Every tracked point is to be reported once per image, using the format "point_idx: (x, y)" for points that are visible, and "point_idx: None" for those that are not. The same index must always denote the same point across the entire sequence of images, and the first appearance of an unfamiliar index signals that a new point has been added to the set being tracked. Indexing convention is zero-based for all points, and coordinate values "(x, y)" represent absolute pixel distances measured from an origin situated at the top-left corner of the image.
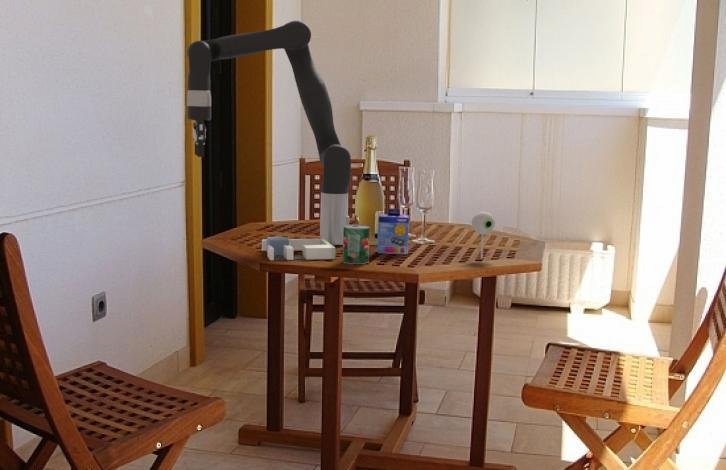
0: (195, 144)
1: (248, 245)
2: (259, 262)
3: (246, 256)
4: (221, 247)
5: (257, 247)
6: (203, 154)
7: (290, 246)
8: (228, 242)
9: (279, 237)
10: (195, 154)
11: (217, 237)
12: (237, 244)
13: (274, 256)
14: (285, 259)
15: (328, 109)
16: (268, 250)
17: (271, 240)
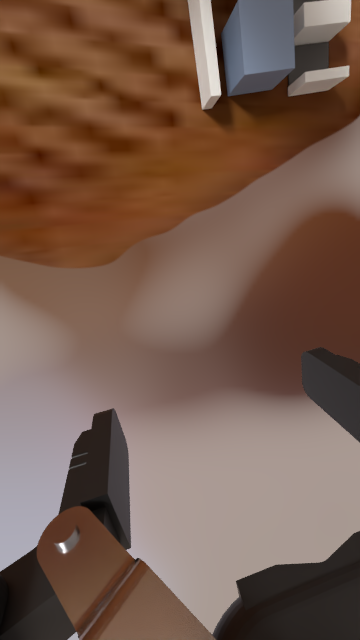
0: (127, 532)
1: (128, 150)
2: (347, 120)
3: (279, 153)
4: (167, 223)
5: (157, 122)
6: (328, 355)
7: (323, 4)
8: (89, 211)
9: (251, 26)
10: (125, 446)
11: (8, 250)
12: (117, 183)
13: (293, 75)
14: (328, 45)
15: None
16: (312, 85)
17: (294, 62)
